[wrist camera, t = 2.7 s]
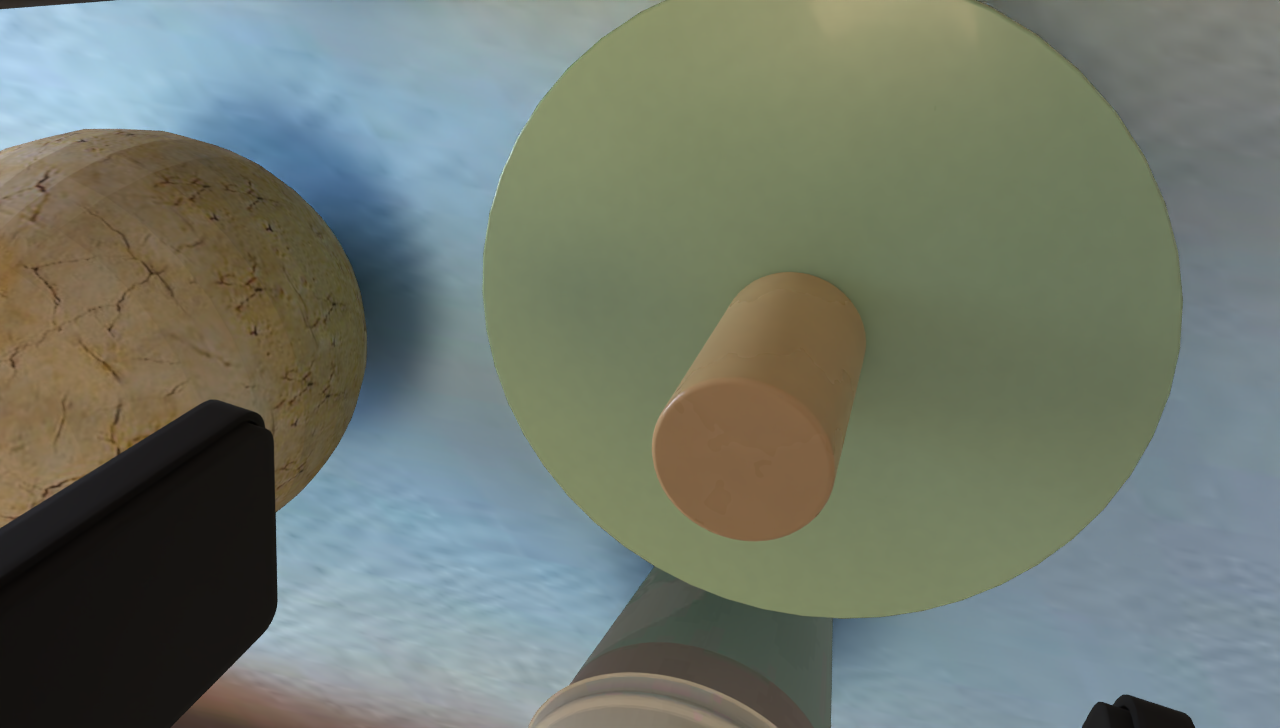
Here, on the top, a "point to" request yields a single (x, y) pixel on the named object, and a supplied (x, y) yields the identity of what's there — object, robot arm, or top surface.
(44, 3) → the bottle
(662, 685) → the coffee cup
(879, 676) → the top surface
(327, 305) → the fossilized egg
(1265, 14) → the top surface
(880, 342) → the green lid
